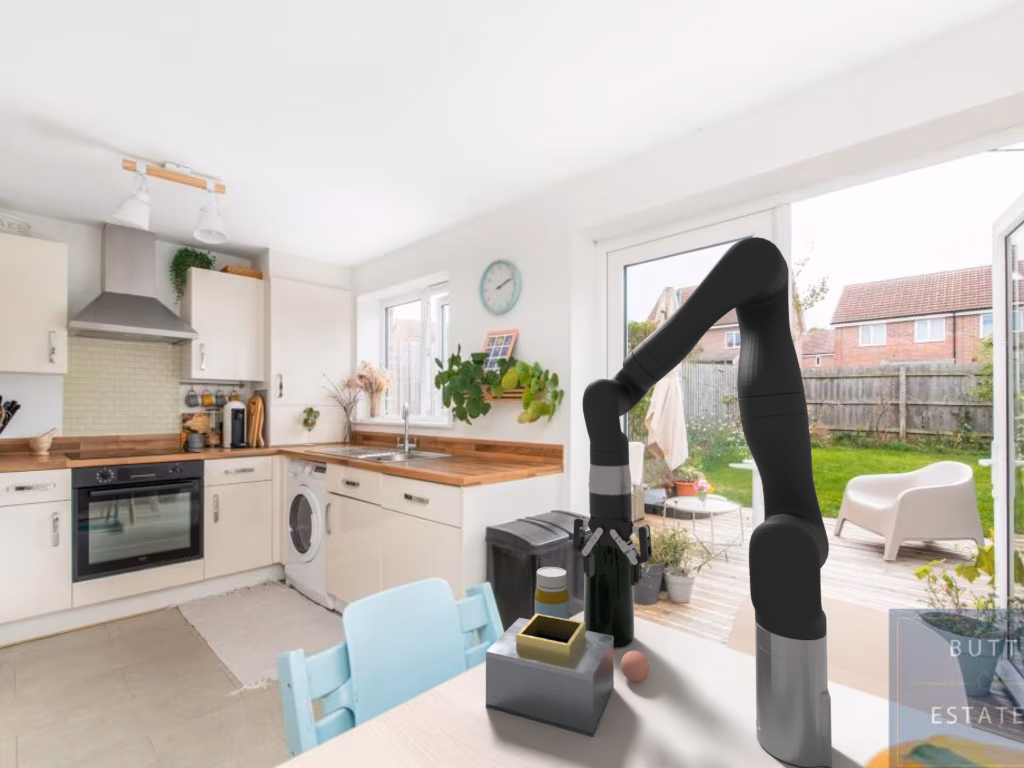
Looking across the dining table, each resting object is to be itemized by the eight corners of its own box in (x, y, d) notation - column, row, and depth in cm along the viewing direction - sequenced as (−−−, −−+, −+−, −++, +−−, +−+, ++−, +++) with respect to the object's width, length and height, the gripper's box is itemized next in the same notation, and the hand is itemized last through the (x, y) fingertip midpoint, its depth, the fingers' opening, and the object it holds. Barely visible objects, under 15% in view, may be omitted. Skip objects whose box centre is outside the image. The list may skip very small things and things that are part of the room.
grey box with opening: (613, 688, 88) (613, 621, 88) (593, 736, 75) (592, 658, 76) (519, 665, 95) (519, 604, 96) (485, 706, 82) (485, 635, 83)
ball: (651, 676, 92) (651, 648, 92) (647, 691, 87) (646, 661, 87) (624, 670, 94) (623, 643, 94) (618, 684, 89) (618, 655, 89)
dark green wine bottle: (584, 648, 102) (584, 485, 103) (583, 625, 112) (582, 477, 113) (637, 651, 101) (636, 486, 102) (631, 628, 111) (630, 478, 112)
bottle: (568, 638, 106) (568, 566, 107) (569, 655, 99) (568, 578, 100) (535, 636, 107) (535, 565, 107) (533, 653, 100) (533, 577, 101)
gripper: (655, 489, 90) (657, 581, 89) (583, 483, 98) (585, 567, 98) (640, 496, 84) (642, 594, 83) (565, 488, 92) (566, 578, 91)
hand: (611, 579), depth 90 cm, fingers open, 8 cm apart
